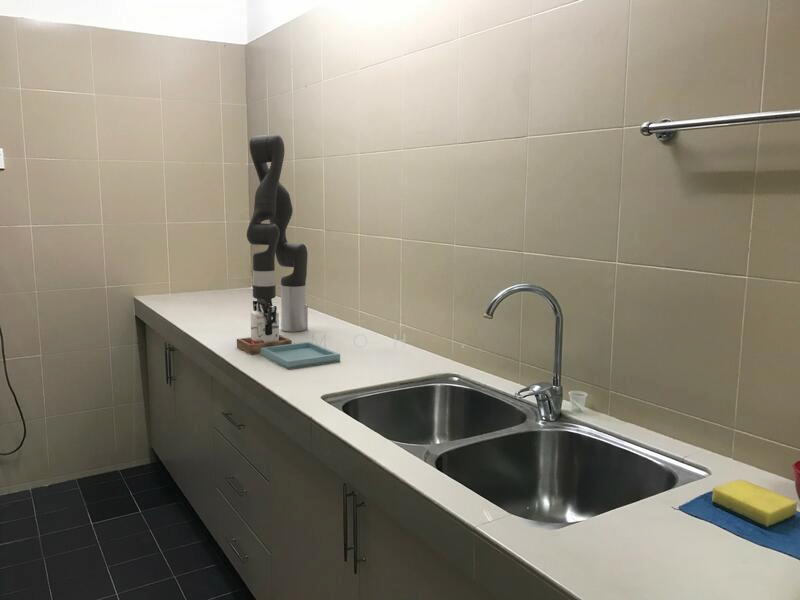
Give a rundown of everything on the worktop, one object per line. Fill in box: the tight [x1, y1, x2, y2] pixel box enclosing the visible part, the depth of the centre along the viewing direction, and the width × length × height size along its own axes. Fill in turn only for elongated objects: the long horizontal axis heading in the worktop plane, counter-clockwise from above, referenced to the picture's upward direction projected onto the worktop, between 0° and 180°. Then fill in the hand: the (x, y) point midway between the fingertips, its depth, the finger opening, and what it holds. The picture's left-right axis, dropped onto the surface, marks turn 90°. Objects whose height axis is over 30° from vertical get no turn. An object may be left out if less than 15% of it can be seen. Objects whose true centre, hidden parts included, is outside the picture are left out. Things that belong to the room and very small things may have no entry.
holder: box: [236, 334, 293, 355], centre depth 223 cm, size 15×11×3 cm
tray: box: [259, 341, 341, 370], centre depth 211 cm, size 18×20×2 cm
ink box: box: [250, 310, 280, 344], centre depth 222 cm, size 9×5×12 cm, turn 117°
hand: (264, 333), depth 222 cm, fingers closed on ink box, 5 cm apart
